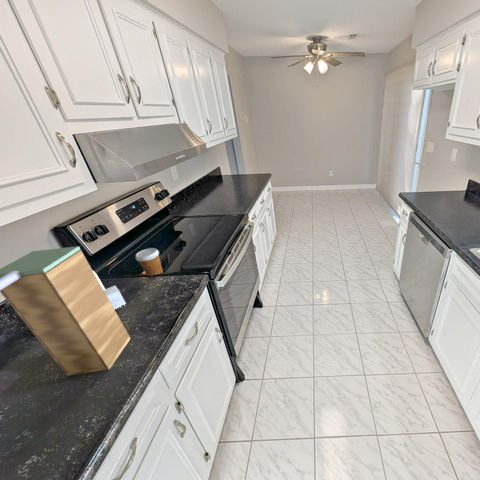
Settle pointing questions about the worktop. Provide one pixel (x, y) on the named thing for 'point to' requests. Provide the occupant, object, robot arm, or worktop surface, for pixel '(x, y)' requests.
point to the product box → (114, 297)
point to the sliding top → (34, 264)
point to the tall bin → (70, 315)
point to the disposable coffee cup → (150, 261)
